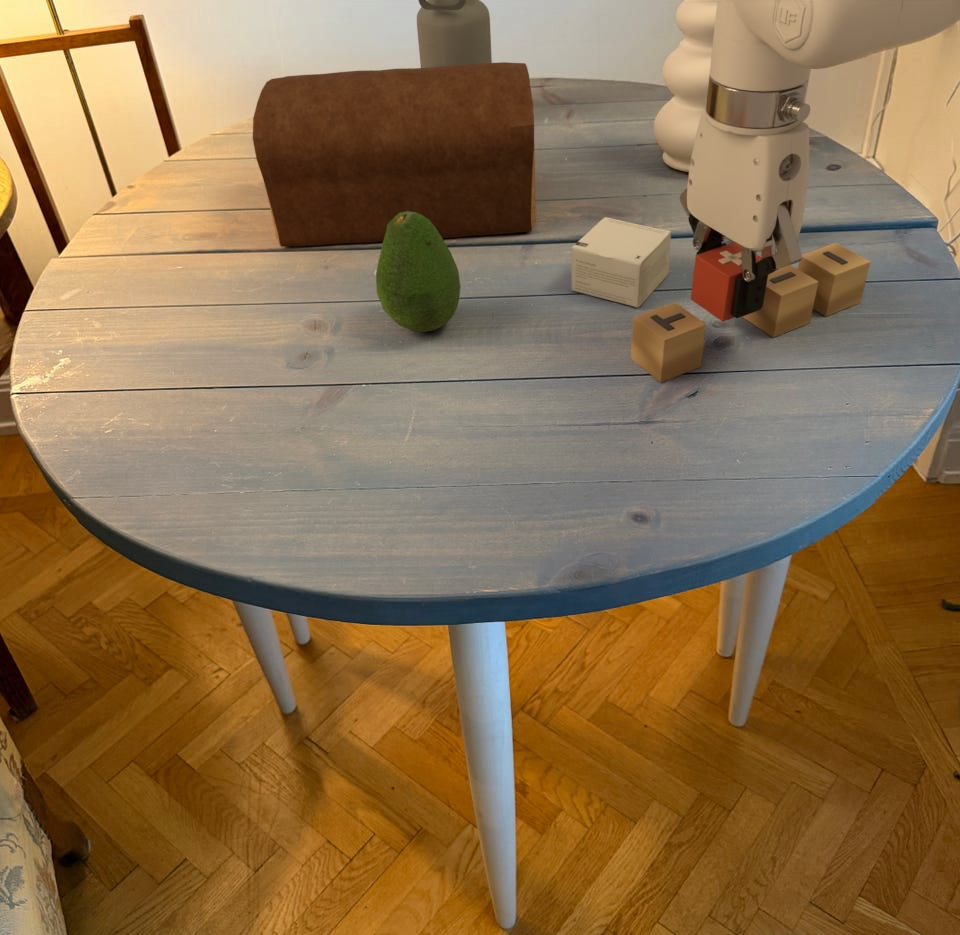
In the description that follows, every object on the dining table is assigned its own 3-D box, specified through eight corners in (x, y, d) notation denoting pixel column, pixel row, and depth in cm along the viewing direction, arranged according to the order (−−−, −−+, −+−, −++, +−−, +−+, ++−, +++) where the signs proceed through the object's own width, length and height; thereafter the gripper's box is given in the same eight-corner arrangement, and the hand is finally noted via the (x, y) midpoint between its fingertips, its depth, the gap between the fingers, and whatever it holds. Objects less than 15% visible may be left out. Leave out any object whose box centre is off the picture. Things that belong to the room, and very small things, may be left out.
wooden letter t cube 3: (701, 366, 85) (706, 323, 82) (660, 383, 84) (664, 339, 81) (670, 343, 88) (674, 300, 85) (630, 358, 87) (633, 315, 84)
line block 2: (860, 303, 92) (871, 260, 89) (825, 317, 90) (835, 274, 87) (826, 283, 95) (835, 241, 92) (792, 296, 93) (800, 254, 90)
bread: (295, 186, 119) (270, 55, 109) (528, 172, 119) (525, 39, 108) (275, 255, 106) (243, 113, 95) (537, 240, 105) (535, 95, 94)
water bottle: (484, 138, 128) (473, -96, 109) (416, 135, 130) (394, -95, 111) (500, 110, 135) (492, -114, 116) (436, 108, 137) (417, -113, 119)
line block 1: (810, 323, 90) (819, 280, 86) (773, 337, 88) (781, 294, 85) (776, 302, 93) (784, 260, 90) (740, 316, 91) (747, 273, 88)
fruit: (409, 299, 97) (396, 190, 89) (476, 315, 94) (469, 204, 86) (368, 338, 92) (350, 227, 84) (438, 356, 89) (426, 242, 81)
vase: (734, 145, 122) (762, -72, 105) (743, 181, 113) (775, -47, 97) (649, 145, 123) (664, -68, 106) (652, 181, 115) (669, -44, 98)
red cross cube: (762, 307, 85) (770, 260, 82) (722, 322, 83) (729, 275, 80) (729, 285, 88) (735, 240, 85) (690, 299, 86) (695, 254, 83)
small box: (670, 274, 98) (674, 230, 94) (638, 310, 93) (641, 264, 90) (603, 258, 101) (604, 214, 98) (569, 291, 96) (569, 246, 93)
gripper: (872, 121, 69) (824, 329, 81) (722, 60, 80) (699, 250, 92) (795, 146, 66) (757, 357, 78) (651, 79, 78) (638, 272, 90)
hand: (726, 297), depth 85 cm, fingers closed on red cross cube, 4 cm apart
